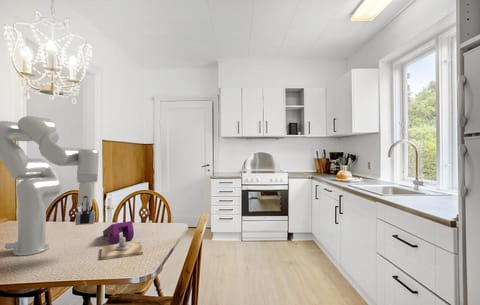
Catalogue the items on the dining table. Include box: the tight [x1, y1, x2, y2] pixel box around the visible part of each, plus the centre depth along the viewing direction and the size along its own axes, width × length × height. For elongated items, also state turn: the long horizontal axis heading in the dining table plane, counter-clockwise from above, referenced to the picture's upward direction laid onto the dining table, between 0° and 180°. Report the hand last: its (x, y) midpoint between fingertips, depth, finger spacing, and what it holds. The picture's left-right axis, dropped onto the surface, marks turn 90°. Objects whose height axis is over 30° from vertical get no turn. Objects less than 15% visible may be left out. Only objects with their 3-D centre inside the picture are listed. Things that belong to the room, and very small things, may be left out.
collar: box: [75, 210, 96, 226], centre depth 112 cm, size 6×6×4 cm
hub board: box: [100, 236, 144, 261], centre depth 117 cm, size 16×14×6 cm
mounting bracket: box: [102, 220, 135, 245], centre depth 135 cm, size 9×8×18 cm
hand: (85, 220), depth 112 cm, fingers closed on collar, 6 cm apart
